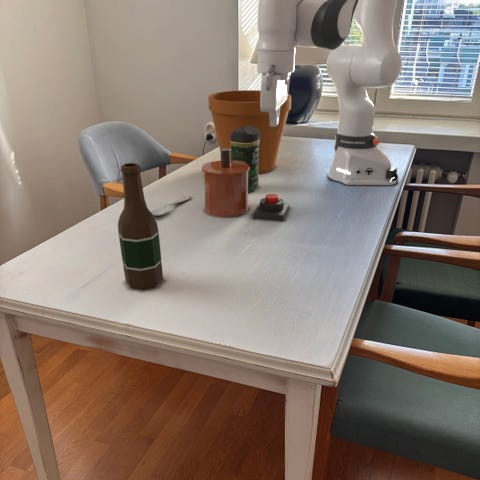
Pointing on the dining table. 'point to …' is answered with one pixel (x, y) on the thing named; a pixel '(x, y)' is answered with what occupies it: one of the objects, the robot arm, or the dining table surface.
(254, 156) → the coffee jar
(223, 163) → the lid
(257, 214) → the block
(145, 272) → the beer bottle
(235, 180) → the jar
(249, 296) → the dining table surface
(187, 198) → the spoon
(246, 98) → the flowerpot
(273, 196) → the button
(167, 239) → the dining table surface
